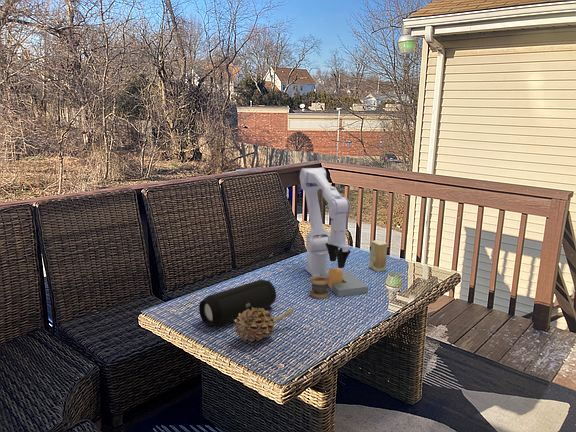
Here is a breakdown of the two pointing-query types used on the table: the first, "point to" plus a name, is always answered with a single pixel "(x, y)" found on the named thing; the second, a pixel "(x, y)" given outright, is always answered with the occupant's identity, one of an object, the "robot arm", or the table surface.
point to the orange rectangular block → (335, 276)
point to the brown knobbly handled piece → (257, 323)
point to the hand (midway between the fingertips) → (336, 264)
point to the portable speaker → (236, 302)
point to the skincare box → (378, 255)
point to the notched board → (348, 285)
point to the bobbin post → (319, 286)
